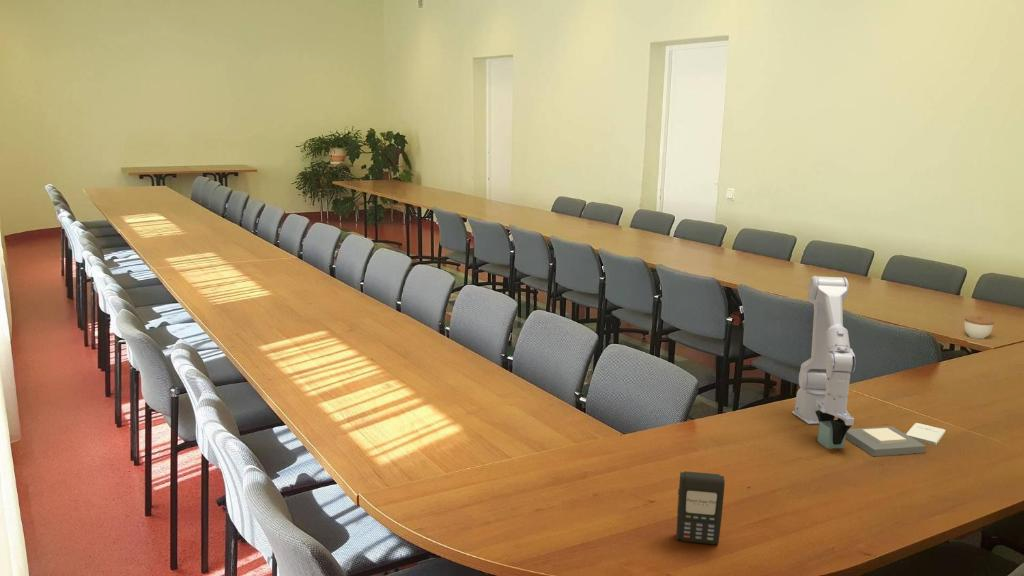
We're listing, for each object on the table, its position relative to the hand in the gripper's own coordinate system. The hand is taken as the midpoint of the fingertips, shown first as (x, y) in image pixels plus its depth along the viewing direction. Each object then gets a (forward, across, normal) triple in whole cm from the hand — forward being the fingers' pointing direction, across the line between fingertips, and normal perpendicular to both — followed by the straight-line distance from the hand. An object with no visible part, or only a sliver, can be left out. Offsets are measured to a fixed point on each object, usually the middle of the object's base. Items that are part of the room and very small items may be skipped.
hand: (831, 439), depth 217 cm
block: (+1, 0, 0) cm, 1 cm away
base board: (+1, +2, +15) cm, 15 cm away
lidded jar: (+2, -93, +131) cm, 161 cm away
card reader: (+2, +41, -59) cm, 72 cm away
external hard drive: (+2, -2, +32) cm, 32 cm away
